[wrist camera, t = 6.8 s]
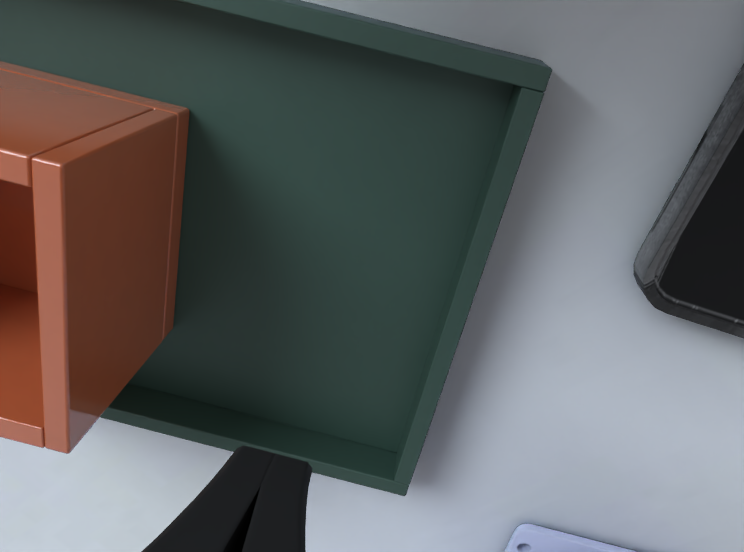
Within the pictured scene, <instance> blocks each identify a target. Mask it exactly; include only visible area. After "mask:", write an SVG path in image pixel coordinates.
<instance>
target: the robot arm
mask: <svg viewBox="0 0 744 552" xmlns="http://www.w3.org/2000/svg"><path fill="white" fill-rule="evenodd" d="M312 469H313V468H312V467H311V466H310V464H309V463H308V462H306V461H302V460H298V459H294V458H290V457H286V456H283V455H279V454H275V453H271V452H267V451H263V450H260V449H256V448H252V447H248V446H244V445H243V446H241V447H239V448H237V449H236V450H235V451H234V453H233V454H232V456H231V457H230V458H229V459H228V461H227V462H226V463H225V465H224V466H223V467H222V468H221V469H220V471H219V472H218V473H217V474H216V475H215V477H214V478H213V479H212V480H211V481H210V482H209V484H208V485H207V486H206V487H205V488H204V489H203V490H202V491H201V492H200V494H199V495H198V496H197V497H196V498H195V499H194V500H193V501H192V502H191V503H190V504H189V505H188V506H187V507H186V508H185V509H184V510H183V511H182V513H181V514H180V515H179V516H178V517H177V518H176V519H175V520H174V521H173V522H172V523H171V524H170V525H169V526H168V527H167V528H166V529H165V530H164V531H163V532H162V533H161V534H160V535H159V536H158V537H157V538H156V539H155V540H154V541H153V542H152V543H150V544H149V545H148V546H147V547H146V548H145V549H144V550H143V551H142V552H305V523H306V504H307V494H308V487H309V482H310V477H311V473H312ZM522 543H525V544H522ZM504 552H637V551H633V550H629V549H626V548H622V547H618V546H614V545H610V544H606V543H602V542H599V541H595V540H591V539H587V538H583V537H579V536H575V535H572V534H568V533H564V532H560V531H556V530H552V529H548V528H545V527H541V526H537V525H533V524H527V523H526V524H521V525H519V526H517V528H516V529H515V531H514V533H513V535H512V537H511V539H510V541H509V543H508V545H507V547H506V549H505V551H504Z"/></svg>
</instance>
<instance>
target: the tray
mask: <svg viewBox="0 0 744 552" xmlns="http://www.w3.org/2000/svg"><path fill="white" fill-rule="evenodd" d="M0 61H2V62H6V63H10V64H14V65H18V66H22V67H26V68H30V69H34V70H38V71H42V72H46V73H50V74H54V75H58V76H62V77H66V78H70V79H74V80H78V81H82V82H86V83H90V84H94V85H98V86H102V87H105V88H109V89H113V90H117V91H121V92H125V93H129V94H133V95H137V96H141V97H145V98H149V99H153V100H157V101H161V102H165V103H169V104H173V105H177V106H181V107H185V108H188V109H189V111H190V113H189V126H188V139H187V152H186V165H185V178H184V191H183V204H182V217H181V231H180V244H179V257H178V270H177V283H176V296H175V309H174V322H173V329H172V330H171V331H170V333H169V334H168V335H167V336H166V337H165V339H164V340H162V342H161V344H160V345H159V346H158V347H157V348H156V350H155V351H154V352H153V353H152V354H151V356H150V357H149V358H148V359H147V361H146V362H145V363H144V364H143V365H142V367H141V368H140V369H139V370H138V371H137V373H136V374H135V375H134V376H133V377H132V379H131V380H130V381H129V382H128V383H127V385H126V386H125V387H124V388H123V389H122V391H121V392H120V393H119V394H118V395H117V397H116V398H115V399H114V400H113V401H112V403H111V404H110V405H109V406H108V408H107V409H106V410H105V411H104V412H103V414H102V415H101V416H100V417H101V418H105V419H109V420H113V421H117V422H121V423H125V424H128V425H132V426H136V427H140V428H144V429H148V430H152V431H155V432H159V433H163V434H167V435H171V436H175V437H179V438H182V439H186V440H190V441H194V442H198V443H202V444H206V445H209V446H213V447H217V448H221V449H225V450H229V451H233V452H234V451H235V450H236V449H237V448H239V447H241V446H243V445H244V446H248V447H252V448H256V449H260V450H263V451H267V452H271V453H275V454H279V455H283V456H286V457H290V458H294V459H298V460H302V461H306V462H308V463H309V464H310V466H311V467H312V468H313V469H312V472H313V473H317V474H321V475H325V476H329V477H333V478H337V479H340V480H344V481H348V482H352V483H356V484H360V485H364V486H367V487H371V488H375V489H379V490H383V491H387V492H391V493H394V494H398V495H402V496H405V495H406V493H407V490H408V487H409V484H410V482H411V479H412V476H413V473H414V470H415V467H416V464H417V462H418V459H419V456H420V453H421V450H422V447H423V444H424V441H425V438H426V435H427V432H428V430H429V427H430V424H431V421H432V418H433V415H434V412H435V409H436V406H437V403H438V401H439V398H440V395H441V392H442V389H443V386H444V383H445V380H446V377H447V374H448V371H449V369H450V366H451V363H452V360H453V357H454V354H455V351H456V348H457V345H458V342H459V340H460V337H461V334H462V331H463V328H464V325H465V322H466V319H467V316H468V313H469V310H470V308H471V305H472V302H473V299H474V296H475V293H476V290H477V287H478V284H479V281H480V279H481V276H482V273H483V270H484V267H485V264H486V261H487V258H488V255H489V252H490V249H491V247H492V244H493V241H494V238H495V235H496V232H497V229H498V226H499V223H500V220H501V218H502V215H503V212H504V209H505V206H506V203H507V200H508V197H509V194H510V191H511V189H512V186H513V183H514V180H515V177H516V174H517V171H518V168H519V165H520V162H521V159H522V157H523V154H524V151H525V148H526V145H527V142H528V139H529V136H530V133H531V130H532V128H533V125H534V122H535V119H536V116H537V113H538V110H539V107H540V104H541V101H542V98H543V96H544V93H543V92H544V91H545V90H546V87H547V84H548V81H549V78H550V75H551V72H552V69H551V68H550V67H549V66H548V65H546V64H545V63H544V62H543V61H541V60H538V59H534V58H530V57H526V56H522V55H518V54H514V53H510V52H506V51H502V50H498V49H493V48H489V47H485V46H481V45H477V44H473V43H469V42H465V41H461V40H457V39H453V38H449V37H445V36H441V35H437V34H433V33H429V32H425V31H421V30H417V29H413V28H409V27H405V26H401V25H397V24H393V23H389V22H385V21H381V20H377V19H373V18H369V17H365V16H361V15H357V14H353V13H349V12H345V11H341V10H337V9H333V8H329V7H325V6H321V5H317V4H313V3H309V2H305V1H301V0H0Z"/></svg>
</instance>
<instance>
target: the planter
mask: <svg viewBox="0 0 744 552" xmlns="http://www.w3.org/2000/svg"><path fill="white" fill-rule="evenodd" d="M189 113H190V111H189V109H188V108H185V107H181V106H177V105H173V104H169V103H165V102H161V101H157V100H153V99H149V98H145V97H141V96H137V95H133V94H129V93H125V92H121V91H117V90H113V89H109V88H105V87H102V86H98V85H94V84H90V83H86V82H82V81H78V80H74V79H70V78H66V77H62V76H58V75H54V74H50V73H46V72H42V71H38V70H34V69H30V68H26V67H22V66H18V65H14V64H10V63H6V62H2V61H0V437H3V438H7V439H10V440H14V441H18V442H22V443H26V444H30V445H33V446H37V447H41V448H43V447H46V448H47V449H51V450H55V451H59V452H62V453H66V454H68V453H70V452H71V451H72V450H73V449H74V447H75V446H76V445H77V444H78V442H79V441H80V440H81V439H82V438H83V436H84V435H85V434H86V433H87V432H88V430H89V429H90V428H91V427H92V426H93V424H94V423H95V422H96V421H97V420H98V418H99V417H100V416H101V415H102V414H103V412H104V411H105V410H106V409H107V408H108V406H109V405H110V404H111V403H112V401H113V400H114V399H115V398H116V397H117V395H118V394H119V393H120V392H121V391H122V389H123V388H124V387H125V386H126V385H127V383H128V382H129V381H130V380H131V379H132V377H133V376H134V375H135V374H136V373H137V371H138V370H139V369H140V368H141V367H142V365H143V364H144V363H145V362H146V361H147V359H148V358H149V357H150V356H151V354H152V353H153V352H154V351H155V350H156V348H157V347H158V346H159V345H160V344H161V342H162V340H164V339H165V337H166V336H167V335H168V334H169V333H170V331H171V330H172V329H173V322H174V309H175V296H176V283H177V270H178V257H179V244H180V231H181V217H182V204H183V191H184V178H185V165H186V152H187V139H188V126H189Z"/></svg>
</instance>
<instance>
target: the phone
mask: <svg viewBox="0 0 744 552" xmlns="http://www.w3.org/2000/svg"><path fill="white" fill-rule="evenodd" d="M634 276H635V279H636V281H637V284H638V285H639V287H640V288H641V290H642V292H643V293H644V295H645V296H646V298H647V299H648V301H649V302H650V303H651V304H652V305H653V306H654V307H655V308H657V309H659V310H661V311H663V312H665V313H667V314H670V315H673V316H676V317H679V318H683V319H686V320H689V321H692V322H695V323H698V324H701V325H704V326H707V327H710V328H714V329H717V330H720V331H723V332H726V333H729V334H732V335H735V336H738V337H741V338H744V64H743V66H742V68H741V70H740V71H739V73H738V75H737V77H736V79H735V80H734V82H733V84H732V86H731V88H730V89H729V91H728V93H727V95H726V97H725V98H724V100H723V102H722V104H721V105H720V107H719V109H718V111H717V113H716V114H715V116H714V118H713V120H712V122H711V123H710V125H709V127H708V129H707V130H706V132H705V134H704V136H703V138H702V139H701V141H700V143H699V145H698V147H697V148H696V150H695V152H694V154H693V155H692V157H691V159H690V161H689V163H688V164H687V166H686V168H685V170H684V172H683V173H682V175H681V177H680V179H679V180H678V182H677V184H676V186H675V188H674V189H673V191H672V193H671V195H670V197H669V198H668V200H667V202H666V204H665V205H664V207H663V209H662V211H661V213H660V214H659V216H658V218H657V220H656V222H655V223H654V225H653V227H652V229H651V230H650V232H649V234H648V236H647V238H646V239H645V241H644V243H643V245H642V247H641V248H640V250H639V252H638V254H637V257H636V259H635V262H634Z"/></svg>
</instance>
